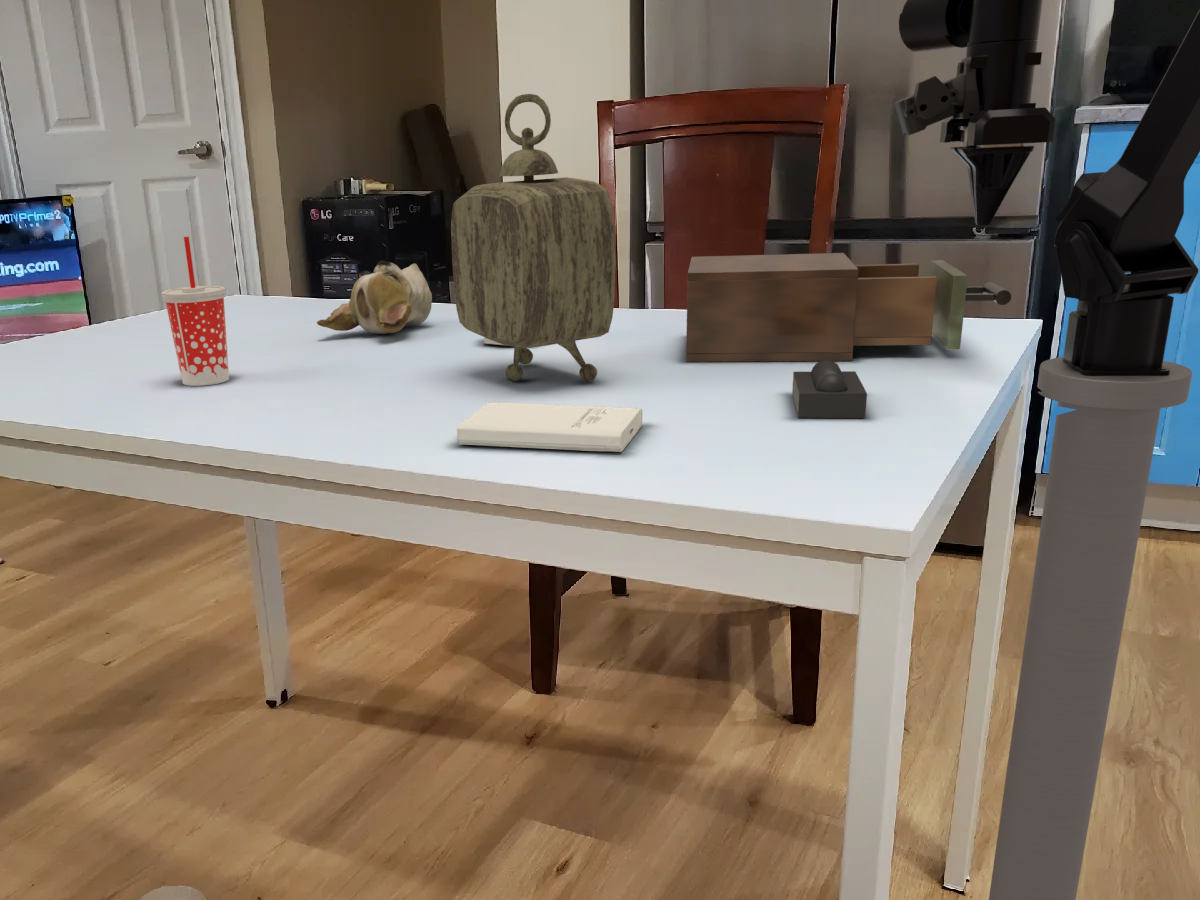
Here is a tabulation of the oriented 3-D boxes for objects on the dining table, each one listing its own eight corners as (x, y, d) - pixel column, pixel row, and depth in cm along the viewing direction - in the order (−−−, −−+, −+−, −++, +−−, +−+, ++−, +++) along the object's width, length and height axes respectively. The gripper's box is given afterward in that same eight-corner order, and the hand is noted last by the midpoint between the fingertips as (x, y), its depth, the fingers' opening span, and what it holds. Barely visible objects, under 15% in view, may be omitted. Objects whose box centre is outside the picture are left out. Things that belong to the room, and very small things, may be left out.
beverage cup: (249, 376, 111) (231, 233, 106) (208, 389, 106) (188, 240, 101) (203, 372, 114) (184, 233, 109) (161, 385, 109) (139, 240, 104)
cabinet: (838, 335, 117) (844, 252, 114) (852, 360, 104) (858, 268, 101) (690, 337, 120) (691, 256, 117) (685, 361, 108) (687, 272, 105)
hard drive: (491, 420, 89) (642, 425, 85) (457, 447, 82) (620, 454, 78) (490, 400, 89) (642, 405, 85) (456, 426, 82) (620, 432, 78)
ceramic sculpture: (450, 250, 132) (381, 273, 121) (457, 321, 136) (390, 350, 124) (378, 250, 138) (305, 272, 126) (386, 319, 141) (316, 347, 129)
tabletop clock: (616, 382, 100) (615, 88, 91) (533, 398, 96) (524, 90, 87) (529, 360, 112) (521, 97, 103) (452, 373, 108) (437, 100, 99)
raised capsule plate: (792, 394, 93) (794, 357, 92) (854, 394, 92) (856, 356, 90) (797, 418, 85) (800, 377, 84) (865, 418, 84) (868, 377, 83)
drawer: (985, 326, 113) (992, 258, 111) (1014, 349, 102) (1023, 274, 99) (792, 328, 117) (795, 263, 115) (799, 350, 106) (803, 278, 103)
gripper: (893, 55, 108) (880, 220, 113) (921, 42, 91) (904, 237, 96) (1015, 47, 105) (996, 216, 110) (1068, 33, 88) (1043, 233, 93)
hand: (982, 225), depth 103 cm, fingers closed
